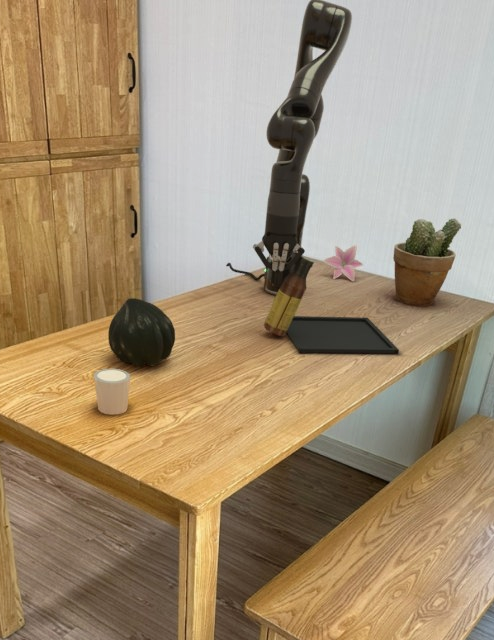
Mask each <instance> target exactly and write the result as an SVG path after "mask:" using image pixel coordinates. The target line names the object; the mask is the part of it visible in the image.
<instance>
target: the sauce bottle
mask: <svg viewBox="0 0 494 640" xmlns="http://www.w3.org/2000/svg"><path fill="white" fill-rule="evenodd" d="M314 263H315V261H314V260H312V259H311V258H309V257H308V256H306V255H304V254H303V255H302V256H301V257H300V258H299V259H298V260H297V263H296V265H295V267H294V269H293V271H292V272H291V273H290V274H289V275H287V276H286V277H285V278H284V280H283V282H282V285H281V287H280V288H279V290H278V293H277V295H275V297H274V299H273V302H272V304H271V306H270V308H269V311H268V313H267V315H266V318H265V319H264V323H263V328H264V329H265V330H266V331H268V332H269V333H271V334H273V335H276V336H278V337H284V336H285V335H286V334H287V333H286V331H287V330H288V328H289V325H290V323H291V321H292V319H293V317H294V316H296V312H297V310H298V308H299V306H300V304H301V302H302V299H303V296H304V295H305V292H306V290H307V277H308V274H309V272H310V270H311V268H312V267H313V266H314Z"/></svg>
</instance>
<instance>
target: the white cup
mask: <svg viewBox="0 0 494 640" xmlns="http://www.w3.org/2000/svg"><path fill="white" fill-rule="evenodd" d="M93 381H94V389H95V394H96V402H97V403H96V404H97V409H98V411H99V412H100V413H101V414H105V415H111V416H114V415H121V414H124V413H125V412H127V410H128V405H129V396H130V395H129V394H130V384H131V383H130V382H131V374H130V373H129V372H127V371H126V370H123V369H118V368H104V369H100V370H97V371H95V372H94V373H93Z"/></svg>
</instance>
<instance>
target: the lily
mask: <svg viewBox="0 0 494 640" xmlns="http://www.w3.org/2000/svg"><path fill="white" fill-rule="evenodd" d="M357 249H358V246H357V245H356V244H354V245H352V246H350V247H349V248H347V249H346V250H345V251H344V250H343V249H342V248H341V247H339V246H337V245H335V247H334V251H335V252H334V253H335V255H333V256H329V257H327V258H325V259H323V262H324V263H325V264H326V265H329V266H331V267H332V268H334V271H333V276H332V278H333V280H336V279H338V278H339V277H340V276H342V275H344V276H345V277H347V278H348V279H349V280H350V281H351V282H355V278H356V273H355V269H356V268H360V267H363V266H364V263H362V262H361V261H359V260H358V259H356V255H357Z"/></svg>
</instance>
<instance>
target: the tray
mask: <svg viewBox="0 0 494 640" xmlns="http://www.w3.org/2000/svg"><path fill="white" fill-rule="evenodd" d="M285 334H286V335H287V337H288V338H289V340H290V341H291V343H292V344H293V345H294V348H295V349H296V350H297V351H298V353H299V354H326V355H327V354H331V355H334V354H336V355H339V354H340V355H399V352H400V349H399V348H398V347H397V346H396V345H395V344H394V343H393V342H392V341H391V340H390V339H389V338H388V337H387V336H386V335H385V334H384V333H383V332H382V331H381V330H380V329H379V328H378V326H377V325H375V324H374V322H372V320H371V319H370V318H368V317H353V316H350V317H349V316H347V317H346V316H313V315H311V316H310V315H308V316H307V315H306V316H305V315H294V317H293V319H292V321H291V323H290V325H289V328H288V330H287V331H286V333H285Z"/></svg>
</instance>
